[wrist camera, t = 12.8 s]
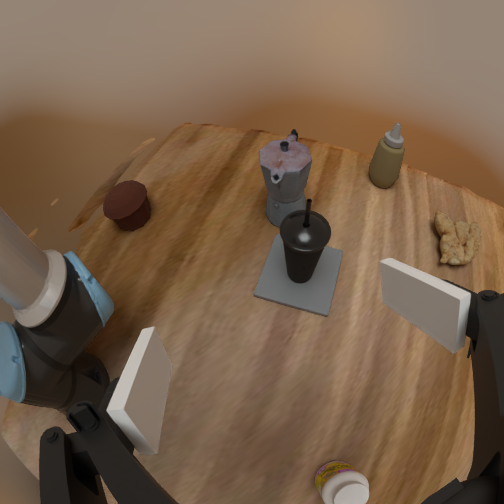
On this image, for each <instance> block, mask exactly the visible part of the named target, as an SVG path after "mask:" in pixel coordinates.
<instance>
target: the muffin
mask: <svg viewBox="0 0 504 504" xmlns="http://www.w3.org/2000/svg"><path fill="white" fill-rule="evenodd" d="M146 194H147V190H146V188H145V185H143V184H141V183H139V182H137V181H133V180H131V181H124V182H122V183H119V184H117V185H116V186H115V187H113V188H112V189H111V190H110V191H109V193H108V194H107V195H106V198H105V201H104V204H103V210H104V215H105V216H106V217H108V218H109V219H112V220H114V221H115V222H116V223H117V224H118V225H119V226H120V227H121V228H122V229H123V230H129V231H135V230H136V229H138V228H140V227H143V226H144V224H145V223H146V222H147V221H148V219H149V218H150V211H151V208H150V205H149V202H148V198H147V195H146Z"/></svg>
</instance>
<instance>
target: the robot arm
mask: <svg viewBox="0 0 504 504" xmlns="http://www.w3.org/2000/svg"><path fill="white" fill-rule="evenodd" d="M379 262H380V272H381V284H382V298H383V303H384V304H385V305H387V306H388V307H389V308H391V309H392V310H394V311H395V312H397V313H398V314H399V315H401V316H402V317H404V318H405V319H406V320H408V321H409V322H411V323H412V324H413V325H415V326H416V327H418V328H419V329H420V330H422V331H423V332H425V333H426V334H427V335H429V336H430V337H432V338H433V339H434V340H436V341H437V342H438V343H440V344H441V345H442V346H444V347H445V348H447V349H448V350H449V351H451V352H452V353H453V354H454V353H455V352H457V351H458V350H460V349H461V348H462V347H464V344H465V338H466V335H467V336H468V337H470V338H471V340H470V346H469V351H468V356H467V358H469V356H470V354H471V359H472V368H473V380H474V397H475V435H474V452H473V462H472V466H471V469H470V472H469V474H468V477H467V480H465V481H463V482H459V480H458V479H457V478H455V479H454V480H453V481H451V482H450V483H449V484H447V485H446V486H444V487H443V488H441V489H440V490H438V491H437V492H435V493H434V494H432V495H431V496H429V497H428V498H427V499H426V500H425V501H423V502H422V503H421V504H504V293H503V294H499V293H497V292H495V291H492V290H484V291H481V292H479V293H478V294H477V293H475V292H473V291H470V290H468V289H466V288H464V287H462V286H461V287H460V286H459V285H457V284H455V283H453V282H450V281H448V280H443V279H438V278H436V277H434V276H432V275H429V274H427V273H425V272H422V271H420V270H418V269H416V268H413V267H411V266H408V265H406V264H404V263H401V262H399V261H397V260H394V259H392V258H387V259H384V260H381V261H379ZM0 298H1V299H2V300H4V301H5V302H6V303H8V304H9V305H11V306H12V307H13V312H14V315H15V318H16V320H15V322H14V323H13V324H10V323H9V322H0V395H1V396H3V397H5V398H8V399H11V400H14V401H15V402H17V403H24V404H29V405H34V406H40V407H47V408H54V409H57V410H58V411H60V412H61V413H63V414H65V415H66V417H67V420H68V421H69V422H70V423H71V425H72V426H73V427H74V428H75V430H76V431H77V432H74V433H70V434H66V433H65V432H64V431H63V430H62V429H61V428H60V427H52V428H49V429H47V430H46V431H45V432H44V433H43V435H42V436H41V439H40V457H39V478H40V498H41V504H108V503H107V500H106V497H105V493H104V490H103V486H102V482H101V478H100V475H101V477H102V479H103V480H104V482H105V484H106V485H107V487H108V488H109V490H110V492H111V493H112V495H113V496H114V498H115V499H116V501H117V502H118V504H178V503H177V502H176V501H175V500H174V499H173V498H172V497H171V496H170V495H169V494H168V493H167V492H166V491H165V490H164V489H163V488H162V487H161V486H160V485H159V484H158V482H157V481H156V480H155V479H154V478H153V477H152V476H151V475H150V474H149V473H148V471H147V470H146V469H145V468H144V467H143V466H142V464H141V463H140V462H139V461H138V460H137V458H136V457H135V456H134V455H133V451H134V447H135V448H136V450H137V451H138V452H139V453H140V454H141V455H155V454H158V448H159V442H160V435H161V429H162V423H163V417H164V411H165V405H166V400H167V394H168V389H169V384H170V378H171V373H172V368H173V366H172V363H171V361H170V359H169V357H168V355H167V353H166V351H165V348H164V346H163V344H162V342H161V339H160V337H159V335H158V332H157V330H156V328H155V326H154V327H150V328H145V329H142V331H141V333H140V336H139V338H138V340H137V342H136V344H135V346H134V348H133V350H132V353H131V355H130V357H129V359H128V361H127V364H126V366H125V368H124V370H123V372H122V375H121V377H119V378H115V379H114V380H113V381H112V382H111V383H109V378H108V374H107V371H106V369H105V367H104V365H103V364H102V362H101V361H100V360H99V359H98V358H97V357H96V356H95V355H93V354H92V353H89V352H87V351H85V349H86V348H87V346H88V345H89V344H90V343H91V341H92V340H93V339H94V338H95V337H96V335H97V334H98V333H99V332H100V331H101V329H102V328H104V327H105V323H106V322H107V321H108V319H109V318H110V316H111V315H112V314H113V312H114V302H113V300H112V299H111V298H110V296H109V295H108V294H107V293H106V291H105V290H104V289H103V288H102V286H101V285H100V284H99V283H98V282H97V280H96V279H95V278H94V277H93V276H92V274H91V273H90V272H89V270H88V269H87V268H86V267H85V265H84V264H83V263H82V262H81V260H80V259H79V258H78V257H77V256H76V254H75V253H74V252H73V251H69V252H68V253H66V254H64V256H62V255H61V254H60V253H59V252H57V251H55V250H46V251H41V250H40V249H39V248H38V247H37V246H36V245H35V244H34V243H33V242H32V241H31V240H30V239H29V238H28V237H27V236H26V235H25V234H24V233H23V232H22V231H21V230H20V229H19V228H18V226H17V225H15V223H14V222H13V221H12V220H11V219H10V218H9V217H8V216H7V215H6V213H5V212H4V211H3V210H2V209H1V208H0Z"/></svg>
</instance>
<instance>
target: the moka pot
mask: <svg viewBox="0 0 504 504" xmlns="http://www.w3.org/2000/svg"><path fill="white" fill-rule="evenodd" d="M297 138H298V133H297V132H296V130H295V129H293V130H292V132H291V135H288V137H287V139H286V140H277V141H271V142H270V143H269V144H267V145H266V146H265V147H264V148H262V149H261V150H260V151H259V156H260V164H261V169H262V172H263V176H264V179H265V183H266V187H267V190H268V197H267V207H266V214H267V217H268V219H269V221H270V222H271V223H272V224H273V225H275V226H277V227H280V225H281V222H282V221H283V219H284V218H285V217H286V216H287V215H288V214H290V213H292V212H294V211H298V210H306V203H305V196H304V188H305V187H306V183H307V179H308V175H309V171H310V167H311V163H312V159H311V156H310V152H309V149H308V147H307V146H305V145H303V144H301V143H299V142H297Z"/></svg>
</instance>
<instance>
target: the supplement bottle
mask: <svg viewBox="0 0 504 504" xmlns="http://www.w3.org/2000/svg"><path fill="white" fill-rule="evenodd" d="M315 485H316V487H317V489H318V491H319V493H320V495H321V497H322V499H323V501H324V503H325V504H365V503H366V502H367V500H368V498H369V483H368V481H367V479H366V477H365V476H364V475H362V474H361V473H360V472H358V471H357V470H356V469H354V468H353V467H352V466H350V465H349V464H348V463H346V462H343V461H333V462H329V463H327V464H325V465H324V466H322V467H321V468H320V469H319V470H318V472H317V474H316V476H315Z"/></svg>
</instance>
